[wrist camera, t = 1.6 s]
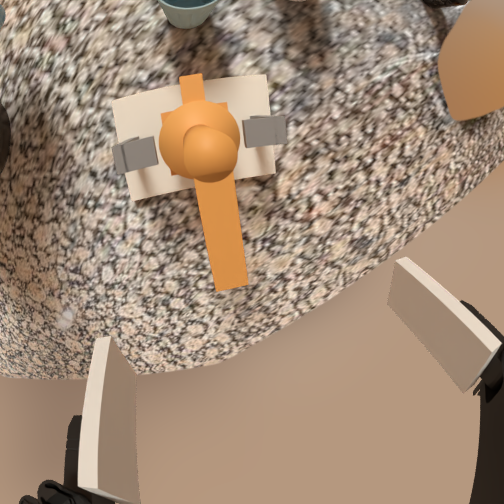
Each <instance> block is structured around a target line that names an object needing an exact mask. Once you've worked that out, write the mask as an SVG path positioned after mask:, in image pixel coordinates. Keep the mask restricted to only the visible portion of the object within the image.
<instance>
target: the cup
mask: <svg viewBox="0 0 504 504" xmlns="http://www.w3.org/2000/svg"><path fill="white" fill-rule="evenodd" d="M219 1H220V0H158V2H159V4H160V5H161V7H162V9H163V11H164V13H165V15H166V17H167V18H168V20H169V22H170V23H171V24H172V25H174V26H175V27H178V28H182V29H189V28H194V27H197V26H198V25H200V24H202V23H203V22H204V21H205V20H206V19H207V17H208V16H209V14H210V13H211V12H212V10H213V9H214V8H215V6H216V5H217V4H218V2H219Z"/></svg>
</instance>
